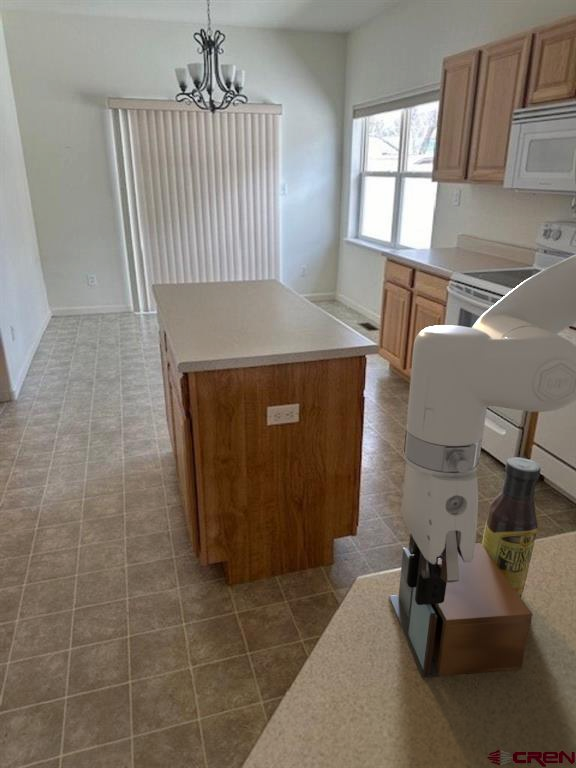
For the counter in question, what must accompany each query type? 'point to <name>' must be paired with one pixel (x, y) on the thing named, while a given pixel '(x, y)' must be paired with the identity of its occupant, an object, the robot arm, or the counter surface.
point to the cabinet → (472, 619)
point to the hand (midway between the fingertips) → (424, 592)
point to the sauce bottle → (513, 522)
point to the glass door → (422, 627)
